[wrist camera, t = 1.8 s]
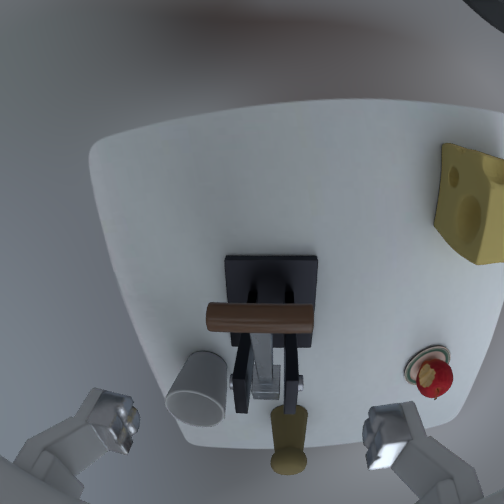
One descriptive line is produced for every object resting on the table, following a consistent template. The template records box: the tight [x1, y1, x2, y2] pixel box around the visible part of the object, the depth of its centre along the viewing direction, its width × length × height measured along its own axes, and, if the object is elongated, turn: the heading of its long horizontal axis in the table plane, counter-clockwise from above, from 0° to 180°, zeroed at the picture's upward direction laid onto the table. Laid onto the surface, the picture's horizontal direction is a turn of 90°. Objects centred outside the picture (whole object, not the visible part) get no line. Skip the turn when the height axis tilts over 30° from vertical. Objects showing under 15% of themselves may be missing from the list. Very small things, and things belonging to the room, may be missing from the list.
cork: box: [271, 405, 308, 475], centre depth 38 cm, size 6×6×11 cm
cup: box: [165, 351, 227, 427], centre depth 37 cm, size 8×10×8 cm
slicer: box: [224, 256, 318, 414], centre depth 29 cm, size 12×10×15 cm
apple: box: [405, 346, 453, 400], centre depth 35 cm, size 8×8×6 cm
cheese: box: [434, 143, 504, 265], centre depth 23 cm, size 10×11×10 cm
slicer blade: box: [206, 302, 314, 400], centre depth 19 cm, size 14×5×2 cm, turn 2°
